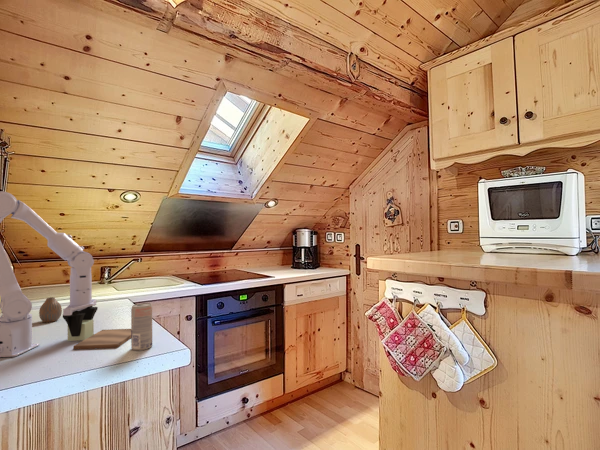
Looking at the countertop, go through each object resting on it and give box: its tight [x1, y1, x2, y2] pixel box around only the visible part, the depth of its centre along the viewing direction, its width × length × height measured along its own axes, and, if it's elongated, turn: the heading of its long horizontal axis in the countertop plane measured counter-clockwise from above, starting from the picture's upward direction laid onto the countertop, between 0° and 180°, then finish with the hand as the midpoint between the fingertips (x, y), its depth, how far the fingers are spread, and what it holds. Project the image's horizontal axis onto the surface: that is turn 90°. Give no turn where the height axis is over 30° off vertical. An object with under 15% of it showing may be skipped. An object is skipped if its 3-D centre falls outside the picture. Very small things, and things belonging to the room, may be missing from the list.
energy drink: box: [130, 302, 153, 352], centre depth 95 cm, size 5×5×12 cm
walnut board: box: [72, 328, 131, 350], centre depth 103 cm, size 16×12×1 cm
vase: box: [38, 296, 63, 323], centre depth 127 cm, size 7×7×9 cm
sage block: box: [67, 319, 95, 342], centre depth 105 cm, size 5×5×5 cm
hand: (80, 333), depth 105 cm, fingers closed on sage block, 5 cm apart
